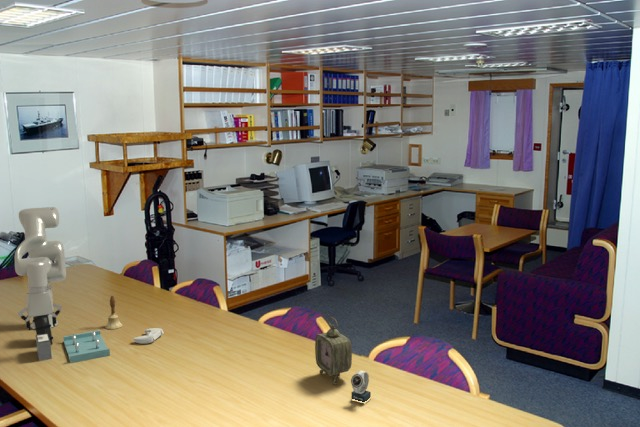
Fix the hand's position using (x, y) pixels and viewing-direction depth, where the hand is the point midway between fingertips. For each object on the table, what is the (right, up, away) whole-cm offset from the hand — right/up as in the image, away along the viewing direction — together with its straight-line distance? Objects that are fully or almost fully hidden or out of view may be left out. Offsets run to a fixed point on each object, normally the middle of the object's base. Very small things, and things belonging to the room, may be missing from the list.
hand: (41, 327), depth 250 cm
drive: (0, -13, +3) cm, 13 cm away
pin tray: (+16, -11, +9) cm, 21 cm away
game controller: (+41, -10, +20) cm, 47 cm away
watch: (+136, -19, -39) cm, 143 cm away
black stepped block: (-8, -10, +18) cm, 22 cm away
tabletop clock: (+127, -16, -20) cm, 130 cm away
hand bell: (+18, -7, +37) cm, 42 cm away
